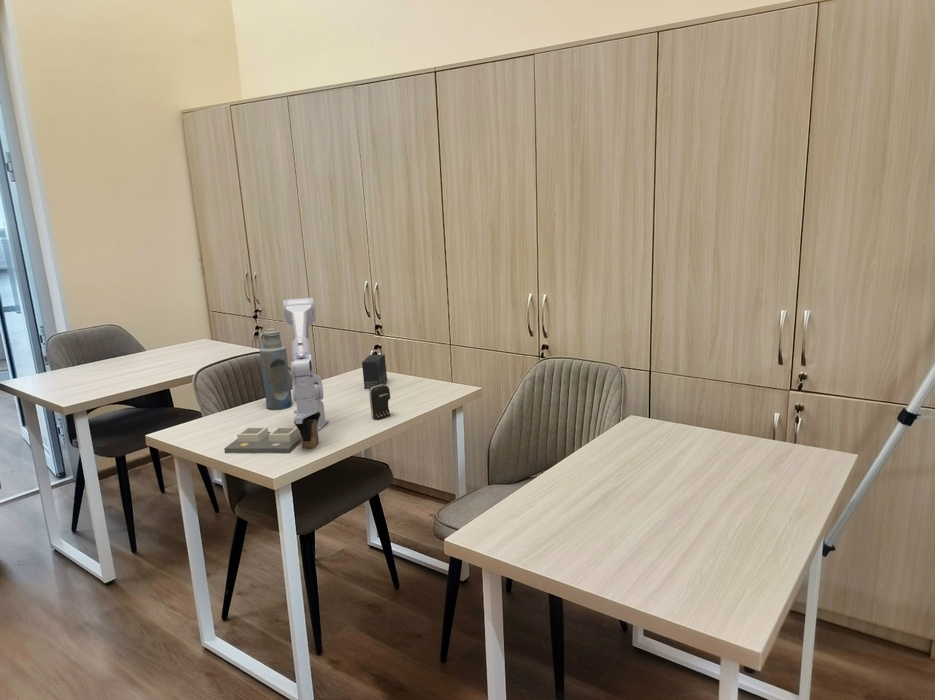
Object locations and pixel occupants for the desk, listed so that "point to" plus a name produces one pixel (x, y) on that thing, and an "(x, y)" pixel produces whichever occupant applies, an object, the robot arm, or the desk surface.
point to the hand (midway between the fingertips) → (309, 438)
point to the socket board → (265, 440)
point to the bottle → (275, 371)
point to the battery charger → (379, 401)
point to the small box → (374, 371)
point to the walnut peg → (314, 437)
